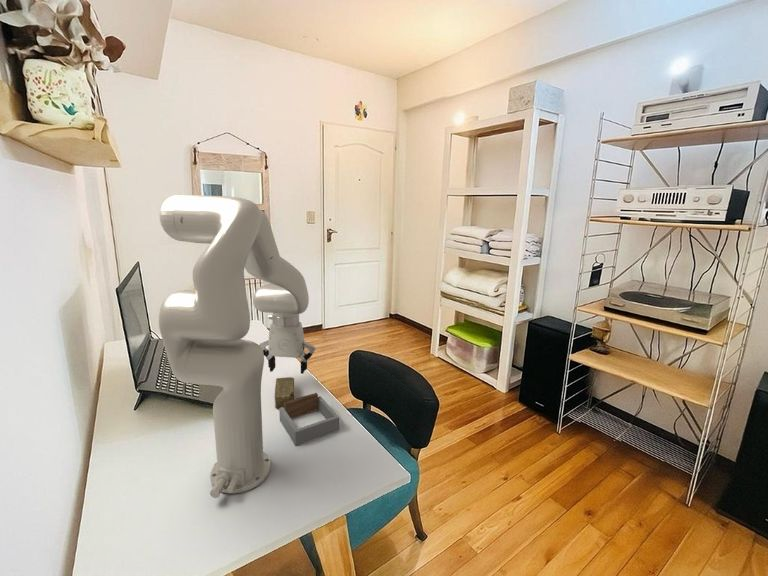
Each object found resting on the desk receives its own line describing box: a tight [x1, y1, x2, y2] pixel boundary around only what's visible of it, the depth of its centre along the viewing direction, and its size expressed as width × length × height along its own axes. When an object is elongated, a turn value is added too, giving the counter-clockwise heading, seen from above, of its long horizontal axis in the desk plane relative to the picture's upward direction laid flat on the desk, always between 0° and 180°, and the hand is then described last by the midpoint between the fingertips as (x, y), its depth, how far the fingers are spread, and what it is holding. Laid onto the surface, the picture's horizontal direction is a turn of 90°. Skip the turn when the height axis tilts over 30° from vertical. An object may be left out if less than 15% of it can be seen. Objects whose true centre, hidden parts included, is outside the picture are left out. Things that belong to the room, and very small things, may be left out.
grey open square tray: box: [278, 395, 341, 447], centre depth 97 cm, size 12×12×4 cm
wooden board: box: [284, 392, 319, 419], centre depth 101 cm, size 1×10×5 cm, turn 125°
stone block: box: [274, 376, 296, 409], centre depth 109 cm, size 6×12×5 cm, turn 15°
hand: (288, 370), depth 112 cm, fingers open, 9 cm apart
